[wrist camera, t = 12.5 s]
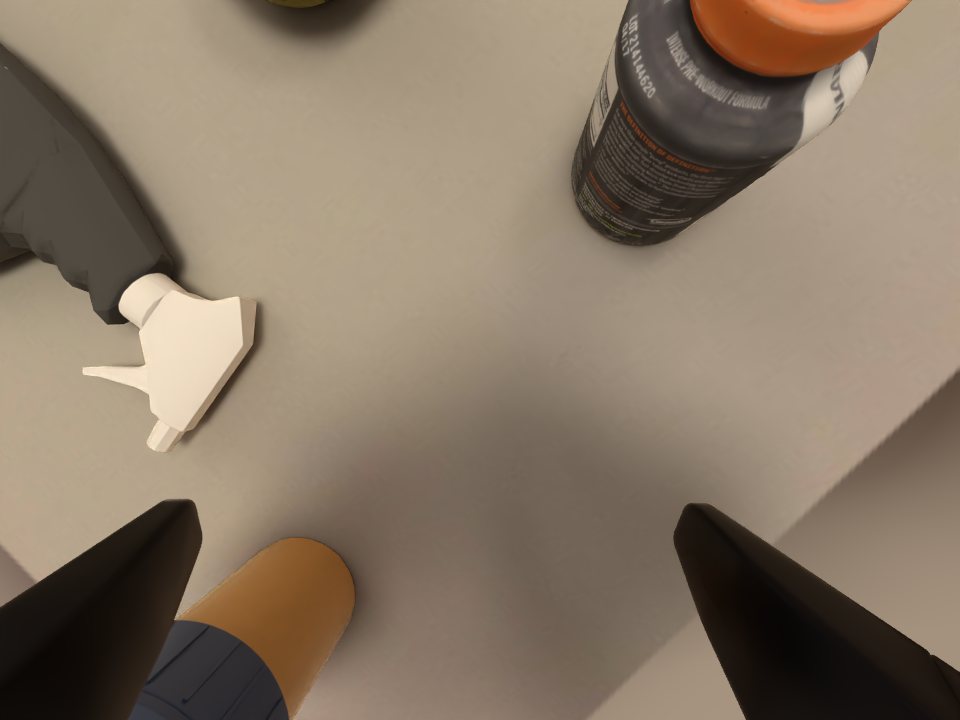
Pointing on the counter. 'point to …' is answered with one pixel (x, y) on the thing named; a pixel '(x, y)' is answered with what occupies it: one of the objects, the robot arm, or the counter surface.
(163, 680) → the jar lid
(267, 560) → the jar
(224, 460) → the counter surface
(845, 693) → the robot arm
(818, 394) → the counter surface
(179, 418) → the spray bottle
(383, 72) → the counter surface
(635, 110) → the pill bottle
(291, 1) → the apple
